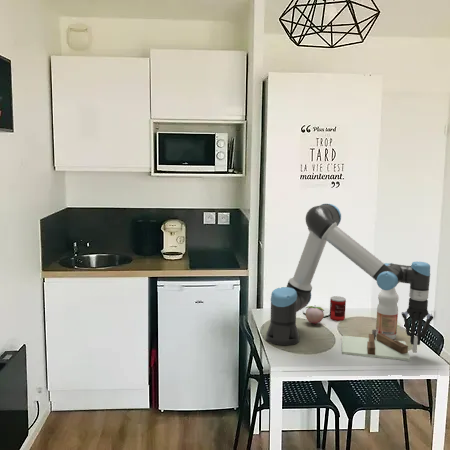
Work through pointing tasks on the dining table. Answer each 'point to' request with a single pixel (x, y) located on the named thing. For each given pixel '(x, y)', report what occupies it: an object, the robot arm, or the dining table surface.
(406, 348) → the arm
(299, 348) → the dining table surface
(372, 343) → the tongs fixed
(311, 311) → the decorative fruit
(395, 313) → the fruit juice
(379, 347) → the board
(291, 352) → the dining table surface
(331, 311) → the canned food
